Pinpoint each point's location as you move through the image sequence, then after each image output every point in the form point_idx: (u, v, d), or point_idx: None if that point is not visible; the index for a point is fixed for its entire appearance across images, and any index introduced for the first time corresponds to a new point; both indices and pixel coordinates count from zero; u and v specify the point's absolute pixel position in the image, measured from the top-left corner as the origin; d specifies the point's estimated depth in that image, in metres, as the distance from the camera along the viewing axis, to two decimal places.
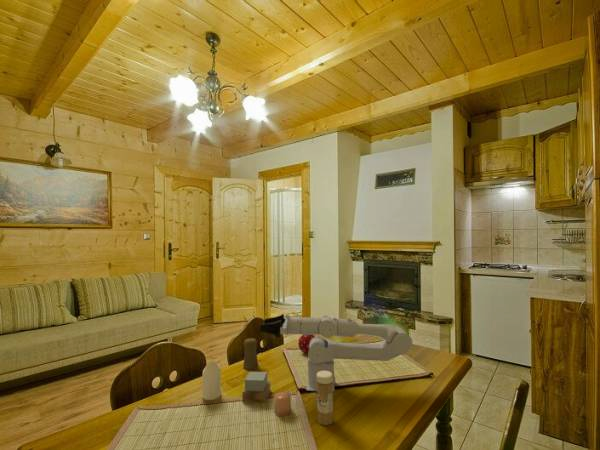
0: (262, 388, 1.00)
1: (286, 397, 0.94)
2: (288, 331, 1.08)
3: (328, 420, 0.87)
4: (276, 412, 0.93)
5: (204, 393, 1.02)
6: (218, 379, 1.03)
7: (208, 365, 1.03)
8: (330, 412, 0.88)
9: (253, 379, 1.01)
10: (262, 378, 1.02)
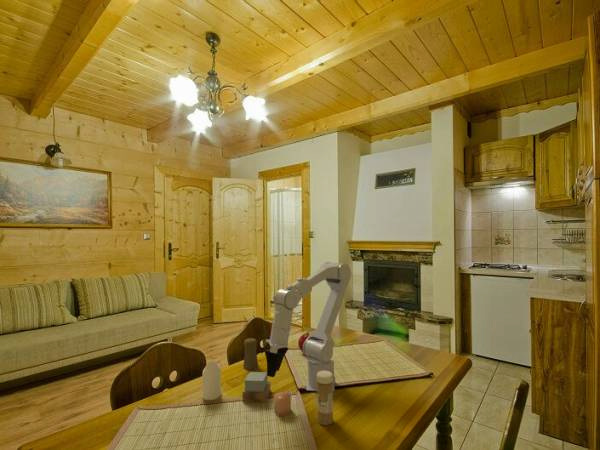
0: (262, 388, 1.00)
1: (286, 397, 0.94)
2: (281, 343, 0.95)
3: (328, 420, 0.87)
4: (276, 412, 0.93)
5: (204, 393, 1.02)
6: (218, 379, 1.03)
7: (208, 365, 1.03)
8: (330, 412, 0.88)
9: (253, 380, 1.01)
10: (262, 378, 1.01)
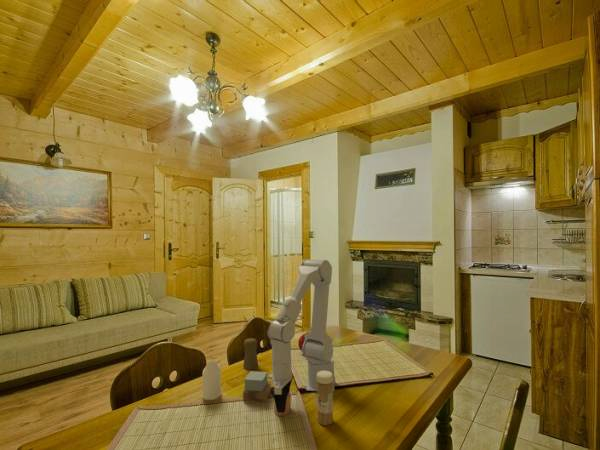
0: (261, 388, 1.00)
1: None
2: (285, 378, 0.92)
3: (328, 420, 0.87)
4: (276, 412, 0.93)
5: (204, 393, 1.02)
6: (218, 379, 1.03)
7: (208, 365, 1.03)
8: (330, 412, 0.88)
9: (252, 379, 1.01)
10: (261, 378, 1.02)
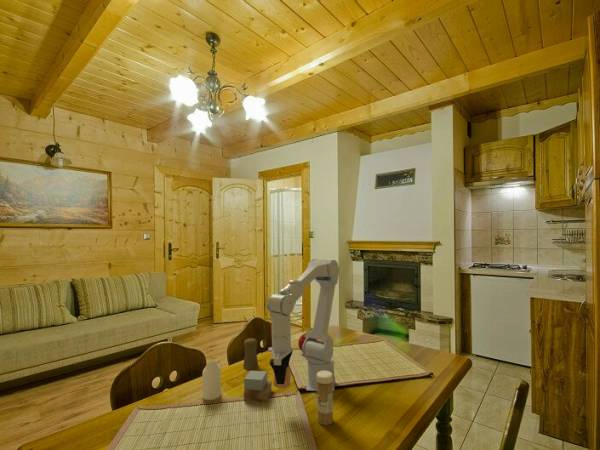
0: (261, 387, 1.01)
1: (286, 370, 0.94)
2: (284, 350, 0.92)
3: (328, 420, 0.87)
4: (276, 384, 0.93)
5: (204, 393, 1.02)
6: (218, 379, 1.03)
7: (208, 365, 1.03)
8: (330, 412, 0.88)
9: (252, 379, 1.01)
10: (261, 377, 1.02)
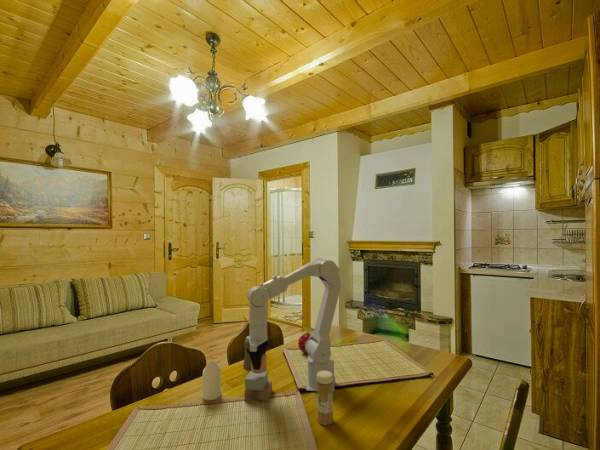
0: (262, 387, 1.01)
1: (262, 357, 1.02)
2: (260, 338, 1.00)
3: (328, 420, 0.87)
4: (252, 370, 1.01)
5: (204, 393, 1.02)
6: (218, 379, 1.03)
7: (208, 365, 1.03)
8: (330, 412, 0.88)
9: (253, 379, 1.01)
10: (262, 377, 1.02)
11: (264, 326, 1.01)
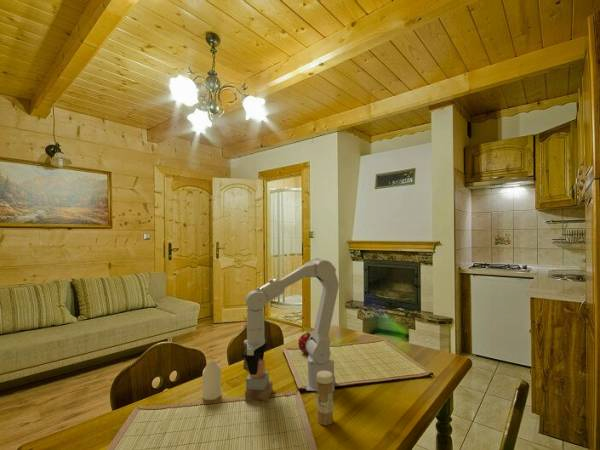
0: (263, 387, 1.01)
1: (260, 363, 1.03)
2: (258, 342, 1.01)
3: (328, 420, 0.87)
4: (251, 375, 1.02)
5: (204, 393, 1.02)
6: (218, 379, 1.03)
7: (208, 365, 1.03)
8: (330, 412, 0.88)
9: None
10: (263, 377, 1.02)
11: (261, 330, 1.02)
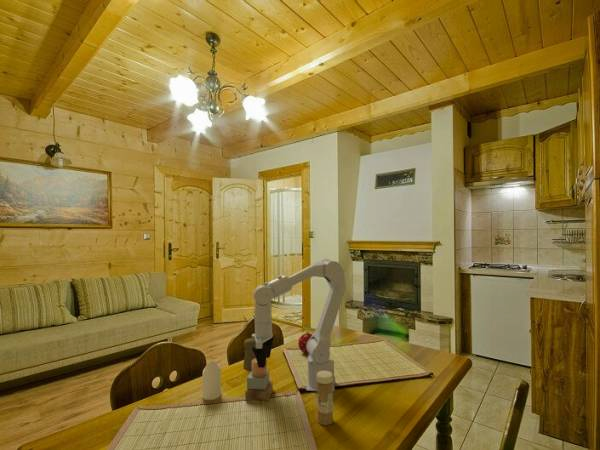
0: (264, 386, 1.01)
1: None
2: (265, 336, 1.03)
3: (328, 420, 0.87)
4: (253, 374, 1.02)
5: (204, 393, 1.02)
6: (218, 379, 1.03)
7: (208, 365, 1.03)
8: (330, 412, 0.88)
9: (255, 377, 1.02)
10: (264, 376, 1.02)
11: (269, 324, 1.04)
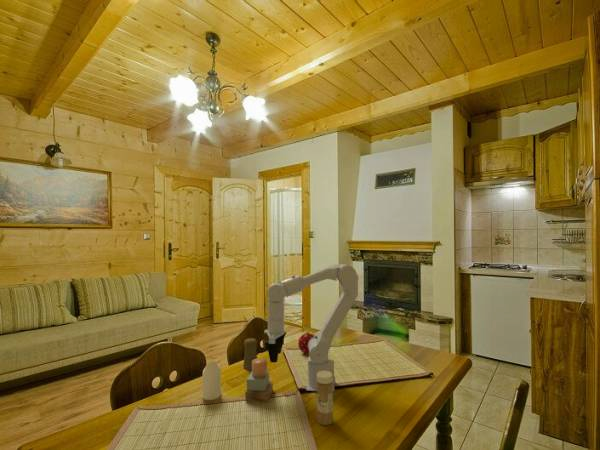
0: (264, 387, 1.01)
1: (263, 361, 1.04)
2: (278, 332, 1.06)
3: (328, 420, 0.87)
4: (254, 375, 1.02)
5: (204, 393, 1.02)
6: (218, 379, 1.03)
7: (208, 365, 1.03)
8: (330, 412, 0.88)
9: (255, 379, 1.01)
10: (264, 377, 1.02)
11: (282, 320, 1.08)
